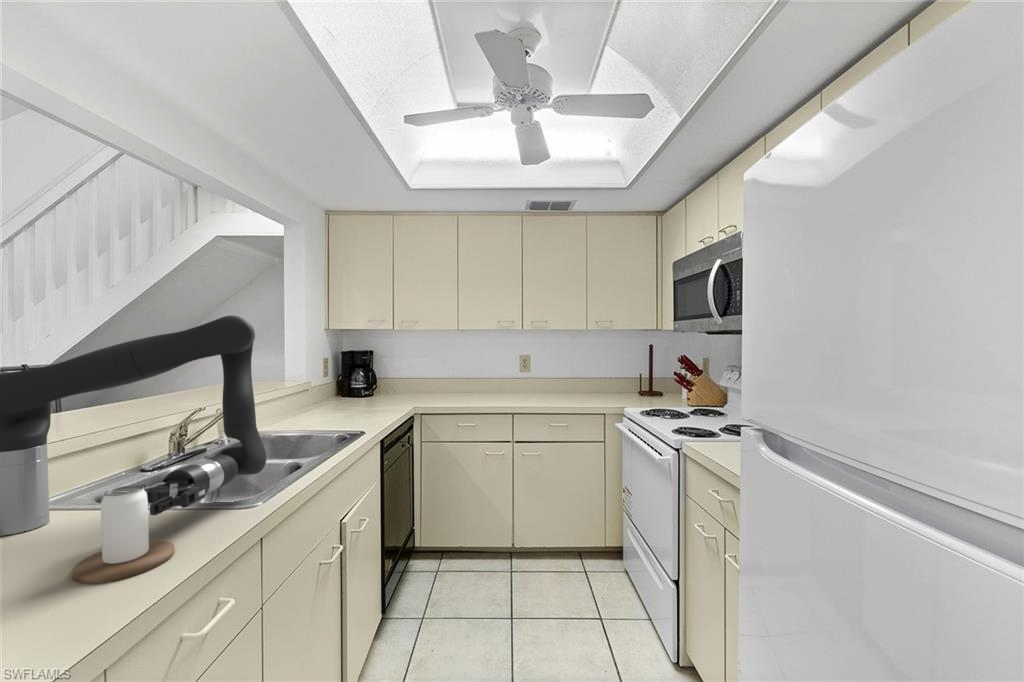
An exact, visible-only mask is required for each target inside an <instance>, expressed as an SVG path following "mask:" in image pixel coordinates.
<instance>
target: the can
mask: <svg viewBox="0 0 1024 682" xmlns="http://www.w3.org/2000/svg"><path fill="white" fill-rule="evenodd" d="M100 528H101V529H100V533H101V534H100V535H101V551H102V560H103V562H105V563H106V564H110V565H115V564H122V563H127V562H130V561H134V560H136V559H138V558H140V557H142V556H144V555H145V554H146V553H147V552H148V550H149V540H150V536H149V535H150V534H149V532H150V531H149V506H148V499H147V493H146V492H145V490H144V486H142V484H133V485H132V484H131V485H124V486H123V485H122V486H118V487H115V488H111V489H108V490H106V491H104V492H103V497H102V499H101V501H100Z"/></svg>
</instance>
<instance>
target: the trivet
mask: <svg viewBox="0 0 1024 682" xmlns="http://www.w3.org/2000/svg"><path fill="white" fill-rule="evenodd" d="M173 554H174V555H175V544H174V543H173V542H171V541H168V540H164V539H149V550H148V552H147V553H146V554H145V555H144V556H142V557H140V558H138V559H136V560H134V561H130V562H127V563H122V564H115V565H110V564H106V563H105V562H103V560H102V550H101V551H99V552H96V553H94V554H92V555H89V556H88V557H86V558H84V559H82V560H80V561H79V562H78V563H76V564H75V565H74V567H73V568H72V570H71V571H72V574H71V575H72V579H74V580H75V581H74V580H73V581H74V582H76V581H77V582H76V583H79V582H82V583H81V584H85V583H95V584H100V583H99V582H105V583H109V582H108V581H112V582H116V581H115V580H117V581H120V579H121V580H124V579H129V578H132V577H136V576H138V575H141V574H144V573H146V572H149V571H151V570H154V569H156V568H158V567H160V566H161V565H163V564H165V563H166V562H168V561H169V560H170V559H171V558H172V557H173V556H174V555H173Z"/></svg>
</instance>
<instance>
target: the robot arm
mask: <svg viewBox="0 0 1024 682" xmlns="http://www.w3.org/2000/svg"><path fill="white" fill-rule="evenodd" d="M255 338H256V333H255V329H254V326H253V325H252V323H250V322H249V321H248V320H246V318H243V317H241V316H237V315H225V316H221V317H219V318H217V319H214V320H211V321H208V322H206V323H203V324H201V325H197V326H194V327H192V328H188V329H184V330H181V331H175V332H169V333H164V334H156V335H152V336H146V337H142V338H139V339H138V338H137V339H133V340H129V341H124V342H121V343H118V344H114V345H111V346H107V347H104V348H99V349H97V350H94V351H90V352H87V353H84V354H80V355H78V356H75V357H73V358H70V359H66V360H65V361H60V362H57V363H54V364H50V365H49V364H48V365H44V366H40V367H35V368H30V369H24V370H16V371H9V372H1V373H0V536H1V537H2V536H8V535H9V536H10V535H15V534H19V533H24V531H25V532H28V531H32V530H35V529H38V528H40V527H43V526H45V525H46V524H48V523H49V522H50V519H51V518H50V488H49V485H50V484H49V459H48V435H49V431H50V428H51V421H52V420H51V419H52V418H51V412H52V411H51V408H52V403H51V402H55V401H58V400H60V399H64V398H67V397H70V396H75V395H81V394H86V393H87V394H88V393H90V392H91V393H92V392H96V391H97V392H99V391H102V390H107V389H111V388H112V389H113V388H116V387H121V386H125V385H130V384H133V383H137V382H139V381H143V380H146V379H150V378H153V377H156V376H160V375H162V374H164V373H168V372H169V371H172V370H175V369H177V368H180V367H181V366H183V365H185V364H188V363H191V362H194V361H198V360H201V359H206V358H211V357H216V356H219V355H220V358H221V359H220V360H221V364H222V373H223V376H222V377H223V386H222V421H223V424H222V425H223V432H224V435H225V437H227V438H230V439H235V440H237V441H239V442H240V444H241V446H240V445H239V446H231V447H226V448H224V449H222V450H220V451H219V452H217V453H216V454H215V455H214V456H212V457H209V458H207V459H203V460H200V461H196V462H193V463H191V464H188V465H184V466H182V467H180V468H178V469H175V470H172V471H170V472H169V473H168V474H167V475H165V477H163V478H164V479H163V480H162V481H161V482H158V483H157V482H156V483H154V485H149V486H147V485H146V484H141V485H142V486H144V490H145V492H146V493H147V499H148V507H149V515H150V516H158V515H160V514H162V513H163V512H166V511H168V510H174V509H177V508H178V507H180V508H184V509H185V508H187V507H190V506H191V505H193V504H195V503H197V502H199V501H202V499H205V497H206V496H208V495H210V494H211V493H213V492H214V491H215V490H218V489H219V488H222V487H223V486H225V485H227V484H229V483H231V482H232V481H233V480H234V479H235V478H236V476H249V475H250V476H251V475H257V474H259V473H261V472H262V471H263V470H264V468H265V466H266V464H267V452H266V448H265V446H264V443H263V441H262V439H261V436H260V433H259V430H258V428H257V419H256V416H257V415H256V406H255V405H256V404H255V396H254V389H253V387H254V386H253V379H252V377H253V376H252V358H253V357H252V355H253V348H254V342H255Z"/></svg>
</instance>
